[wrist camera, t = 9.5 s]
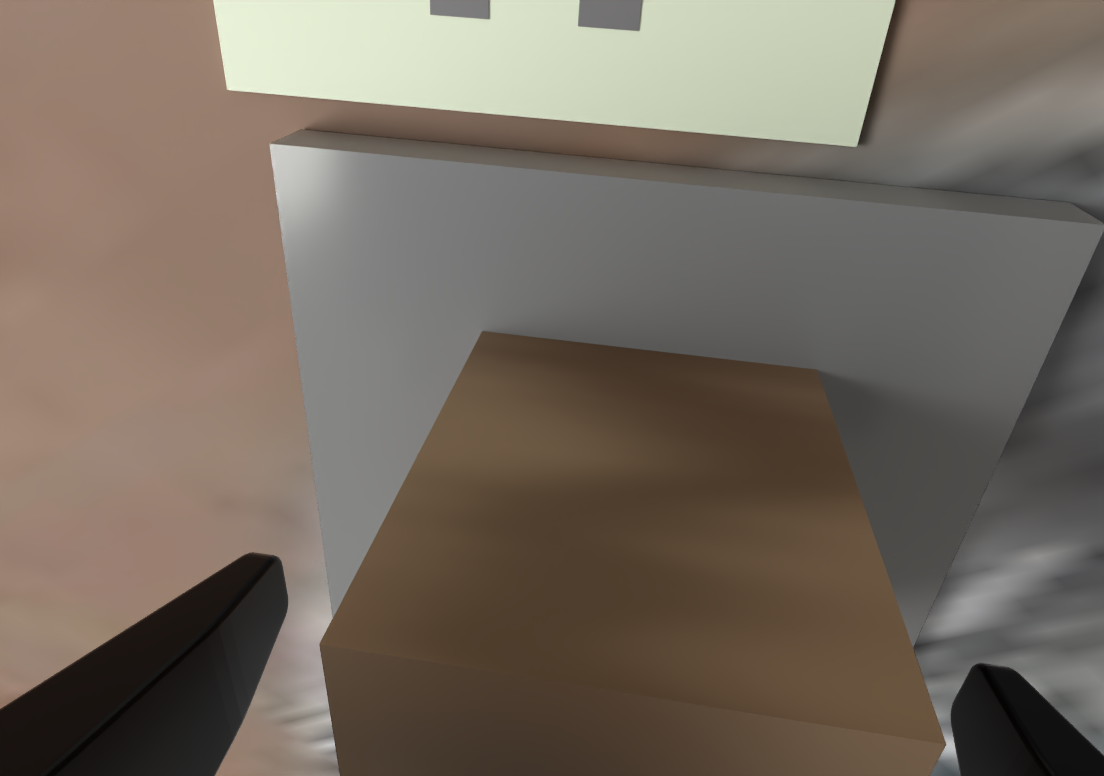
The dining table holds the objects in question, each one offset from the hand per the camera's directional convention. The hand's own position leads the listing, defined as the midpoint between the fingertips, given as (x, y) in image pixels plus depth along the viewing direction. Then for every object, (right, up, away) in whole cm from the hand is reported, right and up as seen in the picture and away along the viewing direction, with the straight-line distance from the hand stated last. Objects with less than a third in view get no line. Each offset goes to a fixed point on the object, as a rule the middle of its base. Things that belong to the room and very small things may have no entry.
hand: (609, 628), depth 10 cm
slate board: (+1, +2, +3) cm, 4 cm away
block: (+1, +2, +3) cm, 3 cm away
